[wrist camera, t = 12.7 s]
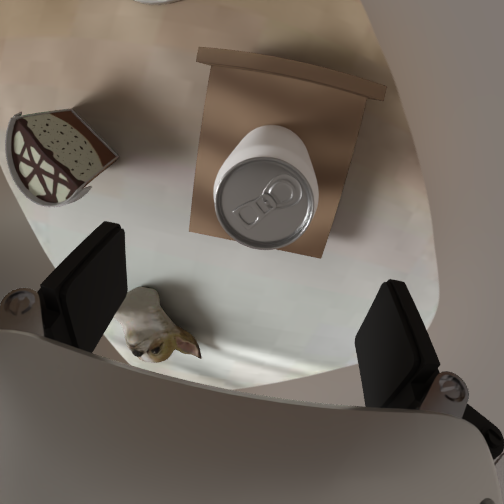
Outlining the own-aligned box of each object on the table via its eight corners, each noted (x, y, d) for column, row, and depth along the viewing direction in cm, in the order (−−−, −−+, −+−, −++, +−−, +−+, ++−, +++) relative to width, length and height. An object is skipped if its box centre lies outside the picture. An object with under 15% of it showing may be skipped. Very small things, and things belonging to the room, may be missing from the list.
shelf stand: (221, 57, 27) (198, 46, 19) (359, 86, 27) (386, 86, 19) (198, 216, 36) (174, 255, 28) (317, 240, 36) (325, 286, 28)
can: (321, 167, 28) (343, 220, 17) (264, 204, 30) (252, 274, 20) (280, 110, 25) (277, 125, 15) (222, 151, 28) (184, 193, 17)
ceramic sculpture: (143, 313, 33) (197, 389, 40) (166, 267, 40) (208, 343, 47) (79, 320, 35) (136, 389, 43) (106, 279, 42) (152, 348, 50)
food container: (43, 138, 32) (-10, 160, 24) (64, 101, 30) (8, 115, 21) (102, 199, 36) (56, 235, 27) (127, 164, 33) (80, 194, 25)
